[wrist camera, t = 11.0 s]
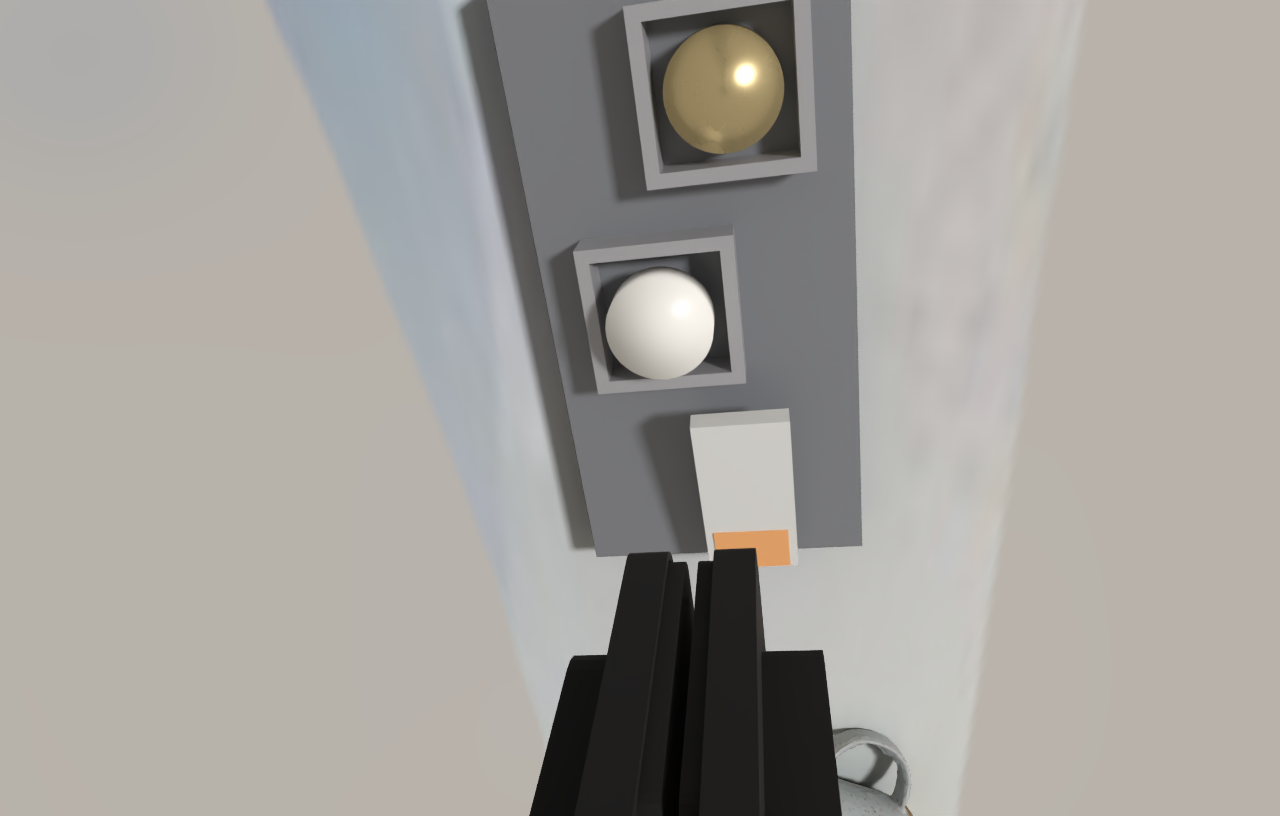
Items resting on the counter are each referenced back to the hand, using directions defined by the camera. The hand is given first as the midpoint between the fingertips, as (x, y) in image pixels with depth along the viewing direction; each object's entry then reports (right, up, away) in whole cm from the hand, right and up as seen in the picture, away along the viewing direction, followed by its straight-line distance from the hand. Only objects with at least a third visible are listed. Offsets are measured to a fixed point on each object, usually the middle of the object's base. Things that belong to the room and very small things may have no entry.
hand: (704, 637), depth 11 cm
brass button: (+2, +16, +22) cm, 27 cm away
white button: (0, +7, +25) cm, 26 cm away
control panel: (+2, +9, +28) cm, 30 cm away
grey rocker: (+4, -1, +29) cm, 29 cm away
